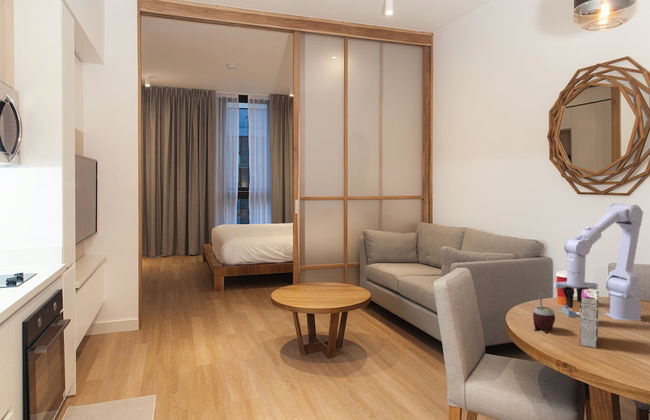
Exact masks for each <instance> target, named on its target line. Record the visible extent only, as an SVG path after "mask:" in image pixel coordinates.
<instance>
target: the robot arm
mask: <svg viewBox="0 0 650 420" xmlns="http://www.w3.org/2000/svg"><path fill="white" fill-rule="evenodd" d="M643 215H644V211H643V210H642V208H641V207H640V206H639V204H638V205H637V204H620V203H611V204H610V205H609V206H608V207H606V208H605V213H604V214H603V215H602V216H601V217H600V218H599V219H598V221H597V222H596V223H595V224H594V225H593V226H592V225H589V226H585V227H584V229H583V230H582V231H581V232H580V233H579V234H577V235H576V236H575V237H574V238H570V239H568V240H567V241H566V242H565V245H564V246H563V249H564V251H565V254H566V258H567V267H566V268H567V269H566V270H567V282H557V281H556V282H555V281H554V282H553V288H554V289H556V290H557V289H559V288H562V290H563V292H564V294H565V296H566V299H567V303H568V307H569V308H572V307H573V300H574V295H575V290H574V291H572V288H574V289H576V296H577V297H576V300H577V301H579V302H580V308H581V296H582V289H587V290H598V288H599V287H598V286H599V285H598V283H595V282H586V279H585V278H586V257H587V255H589V254H590V252H591V248H592V247H593V245H594V244H595V243H596V242H597V241H598V240H600V239H601V237H602V232H604V231H606V229H608V228H609V227H611V226H612V225H613V224H617V225H619V226H620V228H621V229H622V231H621V236H620V241H619V248H618V252H617V259H616V265H615V269H613V270H611V271H609V273H608V276H607V278H606V280H605V288H606V290H607V291H608V294H610V296H609V312H605V313H604V315H607V316H608V317H610V318H612V319H613V320H616V321H617V320H618V321H620V320H621V321H639V322H641V321H642V319H641V309H642V304H641V303H642V302H641V299H640V298H639V296H638V295H637V294H638V293H639V291H640V286H639V277H638V275H636V274H635V273H634V272H633V270H634V265H635V260H636V259H635V258H636V254H637V253H636V252H637V248H638V247H637V246H638V241H639V234H640V231H641V227H642V220H643Z"/></svg>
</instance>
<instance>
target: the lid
mask: <svg viewBox="0 0 650 420" xmlns="http://www.w3.org/2000/svg"><path fill="white" fill-rule="evenodd" d="M569 310H571V311H573V312H575V313H576V314H578V315H581V308H580V302H579V301H577V299H573V307H572V308H569ZM598 317H605V314H604V313H602V312H600V311H598Z"/></svg>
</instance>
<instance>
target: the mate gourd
mask: <svg viewBox="0 0 650 420" xmlns="http://www.w3.org/2000/svg"><path fill="white" fill-rule="evenodd" d="M537 293H538V295H539V296H538V297H539V305H540V306H537V307H535V309H534V310H533V312H532V313H533V314H532V319H533V327H534V331H535V332H541V331H543V332H544V334H547V335H548V334H549V330H550V331H552V330H553V327H554V324H555V322H556V315H555V312H554V310H553V309H552V308H550V307H548V306H543V301H542V300H543V298H542V297H543V296H542V294H541V293H540V292H537Z"/></svg>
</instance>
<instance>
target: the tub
mask: <svg viewBox="0 0 650 420" xmlns="http://www.w3.org/2000/svg"><path fill="white" fill-rule="evenodd" d="M561 313H562V314H564V315H565V316H566V317H568V318H581V315H578V314H576V313H575V312H573V311H571V310H569V307H568V306H565V305H561Z"/></svg>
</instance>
